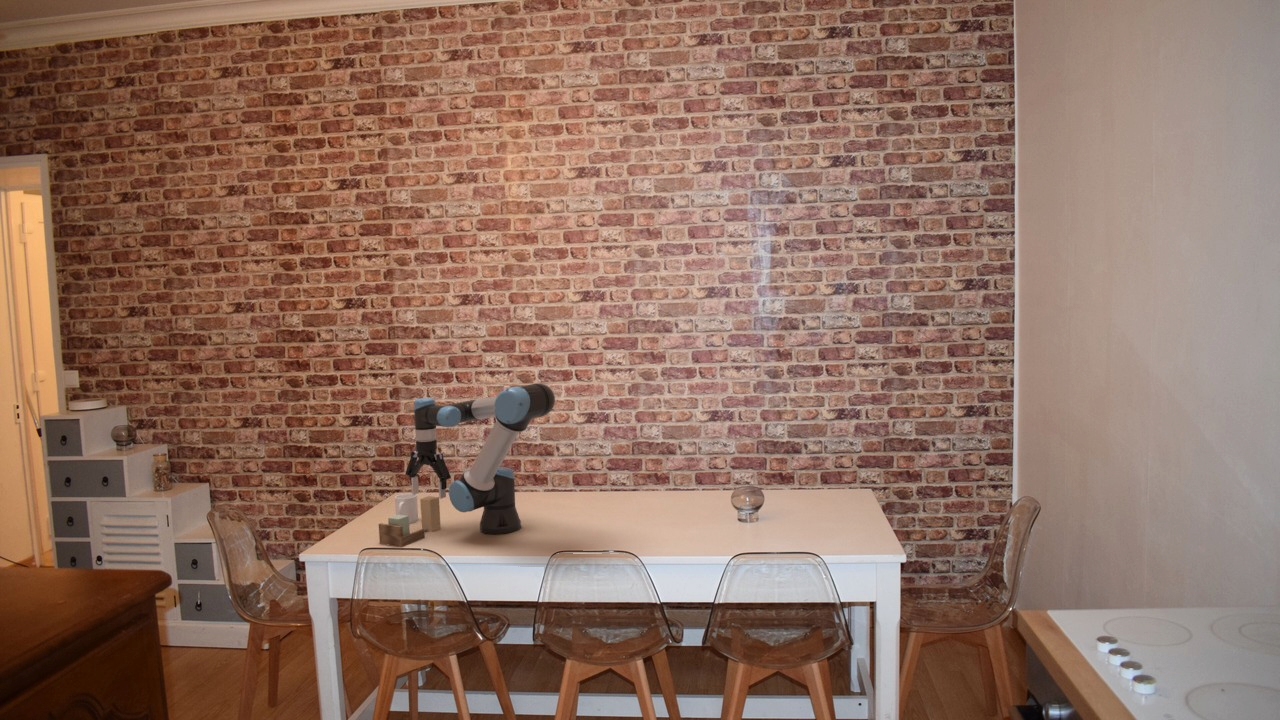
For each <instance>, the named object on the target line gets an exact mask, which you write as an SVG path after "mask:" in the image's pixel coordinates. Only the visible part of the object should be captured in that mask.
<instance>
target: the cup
mask: <svg viewBox="0 0 1280 720" xmlns="http://www.w3.org/2000/svg"><path fill="white" fill-rule="evenodd" d="M394 504H395V507H394V508H395V515H398V514H399V515H407V516H409V525H410V524H414V523H417V522H418V521H419V510H418V507H419V506H418V494H415V495H412V492H411V493H401V494H397V495H395V496H394Z"/></svg>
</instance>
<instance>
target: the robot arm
mask: <svg viewBox="0 0 1280 720" xmlns="http://www.w3.org/2000/svg"><path fill="white" fill-rule="evenodd" d="M435 400H436V399H434V398H433V397H423V398H417V399H415V400H414V402H413V405H414V407H413V413H414V414H413V415H414V429H415V430H414V431H415V432H414V433H415V440H416V441H415V449H416V450H413V451H410V459H409V462H408V465H407V468H406V470H405V475H406V476H409V480H410V486H411V493H412V495H415V494H417V495H418V494H419V493H420V492H419V477H418V473H419V471H420V470H421V468H422V467H423V466H425V465H426V466H429V467H431V468H432V470H433V471H434V472H435V474H436V476H437V477H438V479H439V480H438V495H439V496H438V497H439V500H440V499H441V500H442V499H444V498H446V497H447V487H448V496H449V500H450V502H451V505H452V507H453V508H454V509H455V510H457V512H458V511H459V512H461V513H468V512H473V511H474V510H478V509H481V508H483V511H482V515H481V518H480V523H479V531H480V533H483V534H486V535H487V534H488V535H501V534H502V535H503V534H509V533H514V532H517V531H519V530H520V529H521V528H522V523H521V522H522V520H521V518H520V517H519V513H518V511H517V507H516V492H515V491H516V489H515V488H516V487H515V486H516V485H515V479H516V478H515V476H514V475H515V474H514V470H513V469H512V468H510V467H506V466H502V464H503V461H504V460H505V458H506V456H507V455H508V453H509V451H510V449H511V448H512V446H513V444H514V442H515V440H516V438H517V436H518V435H519V433H522V432H525V431H526V430H527V428H528V426H529V425H530V422H531V421H532V420H533V419H537V418H542V417H544V416H546V415H548V414H549V413H550V412H551V411H552V410H554V407H555V404H556V396H555V393H554V391H553V389H552V388H551V387H550V386H548V385H546V384H543V383H531V384H525V385H520V386H511V387H508V388H505V389H503V390H501V391H500V392H499V393H498V395H496V396H490V397H485V398H478V399H472V400H466V401H462V402H457V403H451V404H445V405H442V404H436V401H435ZM492 418H495V420H496V421H495V422H494V424H493V426H492V429H491V431H490V432H489V434H488V436H487V437H486V440H485V441H484V444H483V445H482V446H481V447H482V448H481V449H480V451H479V453H478V454H477V456H476V458H475V460H474V461H473V463H472V466H470V467H467V468H465V470H464V472H463V473H462V475H461V477H460V478H459V479H456V480H454V481H452V482H451V483H450V485H449V486H447V485H448V484H447V481H448V480H450V479H451V478H452V476H451V473H450V472H449V469H448V466H447V464H446V462H445V459H444V454H443V453H442V452H441V453H437V449H438V442H437V426H439V427H445V428H454V427H456V426H457V425H459V424H462V423H467V422H468V423H469V422H472V421H473V422H474V421H479V420H485V419H492Z"/></svg>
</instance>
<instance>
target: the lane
mask: <svg viewBox="0 0 1280 720" xmlns="http://www.w3.org/2000/svg"><path fill="white" fill-rule="evenodd" d="M378 536H379V544H381V545H387V544H389V545H388V546H395V547H399V546H400V547H399V548H402V547H405V546H408V545H409V544H412V543H415V542H417V541H420V540H423V539H425V533H424V529H422V528H421V529H419V530H416V531H412V532H410V534H408V535H405V536H403V526H396V525H390V524H388V523H383V522H381V523H378Z"/></svg>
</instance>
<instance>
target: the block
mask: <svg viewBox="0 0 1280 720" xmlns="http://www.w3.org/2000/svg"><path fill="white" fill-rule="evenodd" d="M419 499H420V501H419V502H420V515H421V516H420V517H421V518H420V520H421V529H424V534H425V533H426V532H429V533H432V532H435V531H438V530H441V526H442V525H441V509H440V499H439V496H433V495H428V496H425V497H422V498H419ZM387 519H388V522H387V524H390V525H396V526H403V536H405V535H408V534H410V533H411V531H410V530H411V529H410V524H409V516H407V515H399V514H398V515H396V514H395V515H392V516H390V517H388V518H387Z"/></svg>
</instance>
